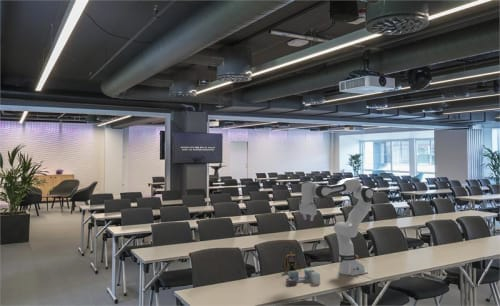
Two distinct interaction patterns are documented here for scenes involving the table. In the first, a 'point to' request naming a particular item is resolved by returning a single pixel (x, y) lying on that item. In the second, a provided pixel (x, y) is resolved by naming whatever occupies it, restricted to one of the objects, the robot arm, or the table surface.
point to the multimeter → (291, 261)
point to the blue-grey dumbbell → (301, 279)
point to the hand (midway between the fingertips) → (308, 220)
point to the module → (315, 278)
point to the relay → (291, 282)
